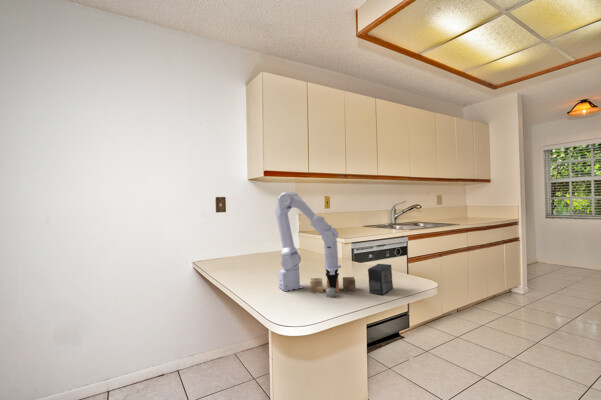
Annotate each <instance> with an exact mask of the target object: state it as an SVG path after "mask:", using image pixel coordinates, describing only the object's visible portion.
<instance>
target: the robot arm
mask: <svg viewBox="0 0 601 400" xmlns="http://www.w3.org/2000/svg"><path fill="white" fill-rule="evenodd" d="M292 208H294V209H298V210H299V211H300V212H302V214H303V215H304V216H305V217H306V218H308V219H309V220H310V225H311V227H312V228H314V230H315V231H316V232H318V234H319V235H321V239H322V241H323V245H324V246H323V250H324V251H323V252H324V265H325V266H324V269H325V277H326V279H327V278H328V281H329V285H330V288H335V289H336V282H337V278H338V279H339V274H340V273H339V269H341V268H342V265H341V264H339V255H338V254H339V253H338V240H337V239H338V237H339V231H338V230H337V229H336V228H335V227H333V226H332V225H331V224H329V223H328V222H327V220H325V217H324V216H321V215H316V214H315V212H314V211H313V210H312V209H311V208H310V207H309V205H308V204H307V203H306V202H305V201H304V199H303V198H302V197H301V196H300V195H298V193H296V192H295V191H294V192H286V191H284V192H282V193H280V195H279V196H278V198H277V204H276V208H275V216H276V221H277V225H278V230H279V236H280V241H281V245H282V251H281V254H280V256H281V260H280V264H281V267H282V269H280V270H279V271H278V288H279V287H280V288H279V289H280V290H282V291H283V290H284V291H283V292H288V290H289V291H294V290H293V289H295V290H299V288H300V289H304V287H305V286H303V285H301V277H300V276H301V275H300V273H301V272H300V263H301V261H302V258H301V257H302V256H301V255H300V253H299V252H298V248H296V246H295V244H294V243H295V242H294V238H293V234H292V228H291V223H290V218H289V212H290V211H291V209H292Z"/></svg>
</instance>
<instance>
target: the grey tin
mask: <svg viewBox="0 0 601 400" xmlns="http://www.w3.org/2000/svg"><path fill="white" fill-rule="evenodd" d="M336 296H337V292H336V290H335V288H327V287H326V288H325V297H326V298H328V297H330V298H331V299H332V298H336ZM330 298H329V299H330Z"/></svg>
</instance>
